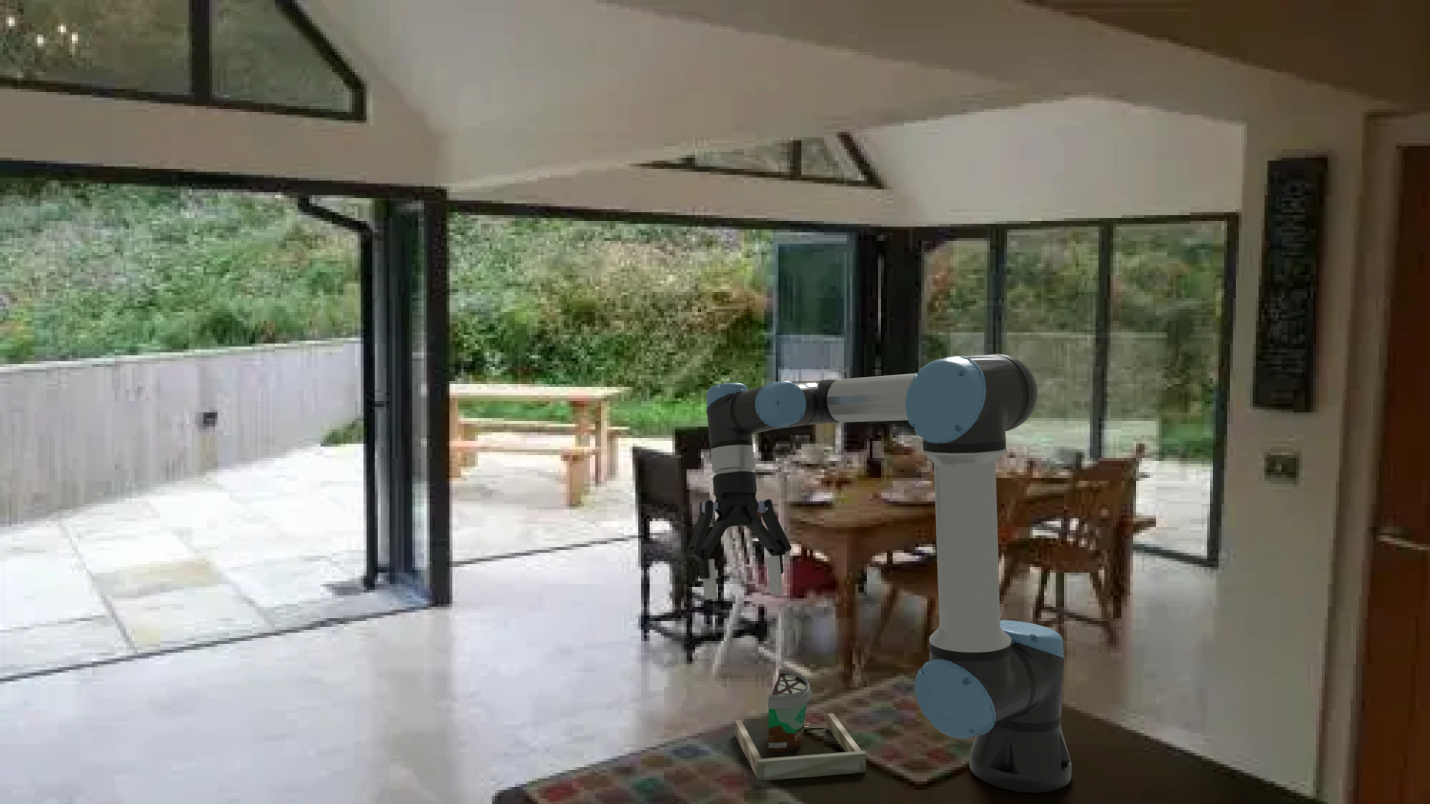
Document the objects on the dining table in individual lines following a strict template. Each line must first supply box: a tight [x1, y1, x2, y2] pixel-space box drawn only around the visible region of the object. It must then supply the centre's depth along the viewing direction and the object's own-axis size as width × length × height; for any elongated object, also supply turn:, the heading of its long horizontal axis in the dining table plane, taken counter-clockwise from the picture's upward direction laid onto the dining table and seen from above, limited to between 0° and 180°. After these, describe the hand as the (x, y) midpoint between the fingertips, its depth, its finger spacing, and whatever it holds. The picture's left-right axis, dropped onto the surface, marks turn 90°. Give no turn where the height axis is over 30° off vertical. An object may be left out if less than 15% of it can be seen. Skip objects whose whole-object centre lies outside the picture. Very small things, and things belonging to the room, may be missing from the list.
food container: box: [767, 668, 812, 753], centre depth 180 cm, size 12×6×10 cm, turn 168°
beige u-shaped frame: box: [734, 712, 867, 781], centre depth 176 cm, size 18×17×3 cm
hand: (744, 596), depth 187 cm, fingers open, 13 cm apart
